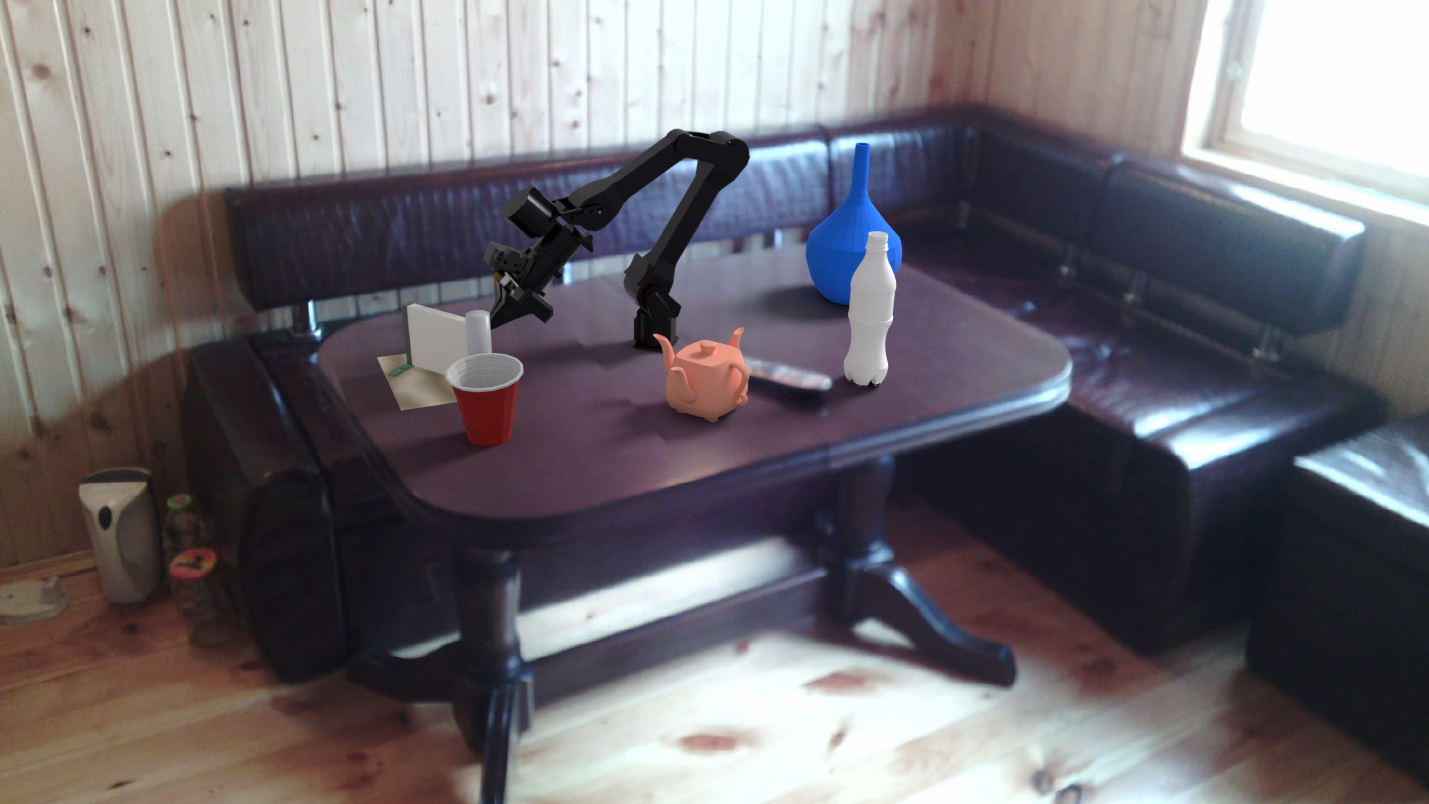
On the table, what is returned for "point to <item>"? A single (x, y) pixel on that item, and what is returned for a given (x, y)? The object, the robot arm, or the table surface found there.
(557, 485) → the table surface
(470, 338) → the white panel grey edge
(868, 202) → the vase
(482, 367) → the plastic cup
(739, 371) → the teapot
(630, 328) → the table surface
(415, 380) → the board
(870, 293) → the water bottle
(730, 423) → the table surface
